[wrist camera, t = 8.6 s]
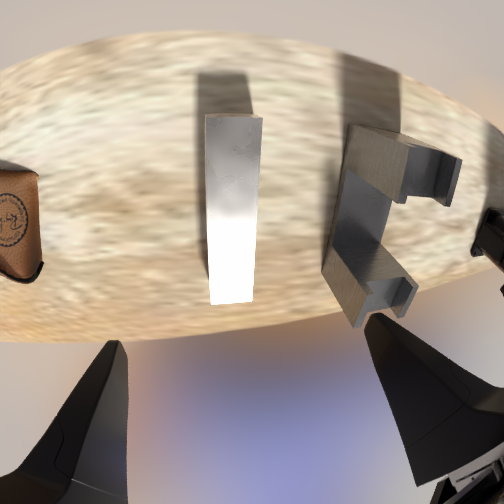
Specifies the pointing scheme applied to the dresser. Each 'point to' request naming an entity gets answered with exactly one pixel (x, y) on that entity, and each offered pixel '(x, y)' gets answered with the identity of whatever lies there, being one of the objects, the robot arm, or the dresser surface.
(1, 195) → the sunglasses case
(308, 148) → the dresser surface
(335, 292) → the standards
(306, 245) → the dresser surface
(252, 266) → the rail
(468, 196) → the dresser surface
